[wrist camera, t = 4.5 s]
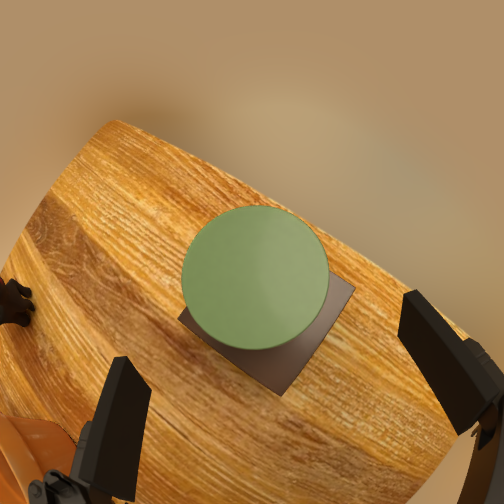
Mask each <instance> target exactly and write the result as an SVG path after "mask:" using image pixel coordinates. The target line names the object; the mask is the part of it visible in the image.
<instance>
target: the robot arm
mask: <svg viewBox="0 0 504 504" xmlns="http://www.w3.org/2000/svg"><path fill="white" fill-rule="evenodd" d="M397 336H398V338H399V339H400V341H401V342H402V344H403V345H404V347H405V348H406V350H407V351H408V353H409V354H410V356H411V357H412V359H413V360H414V362H415V363H416V365H417V366H418V368H419V370H420V371H421V373H422V374H423V376H424V378H425V379H426V381H427V382H428V384H429V386H430V387H431V389H432V391H433V392H434V394H435V396H436V397H437V399H438V401H439V402H440V404H441V406H442V408H443V409H444V411H445V413H446V415H447V416H448V418H449V420H450V422H451V424H452V425H453V427H454V429H455V431H456V433H457V435H458V436H459V435H461V434H462V433H464V432H465V431H467V430H468V429H470V428H471V427H472V426H473V425H474V424H475V423H476V422H477V420H478V422H479V425H478V426H477V427H476V428H475V429H474V431H473V432H472V434H471V437H473V436H474V435H475V433H477V435H476V440H475V445H474V450H473V454H472V458H471V462H470V466H469V469H468V473H467V476H466V479H465V483H464V486H463V489H462V491H461V494H460V497H459V500H458V502H457V504H504V374H503V373H502V372H501V370H500V369H499V368H498V366H497V365H496V364H495V362H494V361H493V360H492V359H490V356H489V355H488V354H487V353H486V352H485V350H484V349H483V348H482V346H481V345H480V344H479V343H478V342H476V341H474V340H473V339H471V338H468V339H466V340H464V341H462V340H461V338H460V337H459V336H458V335H457V334H456V332H455V331H454V330H453V329H452V328H451V327H450V325H449V324H448V323H447V322H446V321H445V320H444V319H443V317H442V316H441V315H440V314H439V313H438V312H437V311H436V310H435V309H434V307H433V306H432V305H431V304H430V303H429V302H428V301H427V300H426V299H425V298H424V297H423V296H422V294H421V293H420V292H419V291H418V290H417V289H416V290H413V291H410V292H407V293H405V294H404V295H403V303H402V310H401V317H400V323H399V329H398V335H397ZM151 392H152V390H151V388H150V387H149V386H148V385H147V383H146V382H145V381H144V379H143V378H142V377H141V375H140V374H139V373H138V371H137V370H136V368H135V367H134V366H133V364H132V363H131V361H130V360H129V359H128V357H127V356H122V357H114V359H113V362H112V364H111V367H110V370H109V373H108V375H107V378H106V381H105V384H104V387H103V390H102V393H101V396H100V399H99V402H98V405H97V408H96V411H95V414H94V418H93V421H87V423H86V424H85V425H84V427H83V428H82V430H81V434H80V437H79V441H78V444H77V448H76V451H75V455H74V459H73V463H72V467H71V471H70V474H69V477H68V476H66V475H65V474H63V473H61V472H60V471H58V470H55V469H52V470H49V471H48V472H46V474H45V475H44V477H43V482H41V481H39V480H33V481H31V483H30V484H29V486H28V497H29V504H115V502H114V501H113V500H111V499H112V496H113V497H116V498H118V499H120V500H125V501H131V502H135V493H136V484H137V476H138V468H139V461H140V454H141V447H142V441H143V435H144V429H145V423H146V418H147V412H148V407H149V402H150V397H151Z"/></svg>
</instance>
